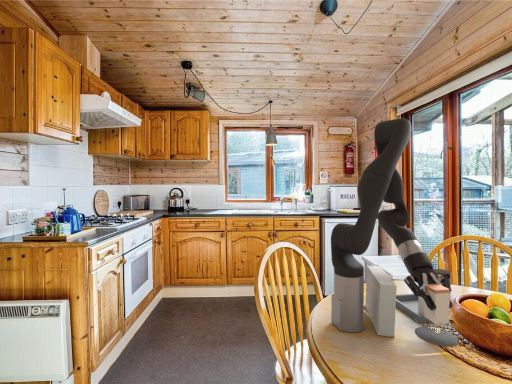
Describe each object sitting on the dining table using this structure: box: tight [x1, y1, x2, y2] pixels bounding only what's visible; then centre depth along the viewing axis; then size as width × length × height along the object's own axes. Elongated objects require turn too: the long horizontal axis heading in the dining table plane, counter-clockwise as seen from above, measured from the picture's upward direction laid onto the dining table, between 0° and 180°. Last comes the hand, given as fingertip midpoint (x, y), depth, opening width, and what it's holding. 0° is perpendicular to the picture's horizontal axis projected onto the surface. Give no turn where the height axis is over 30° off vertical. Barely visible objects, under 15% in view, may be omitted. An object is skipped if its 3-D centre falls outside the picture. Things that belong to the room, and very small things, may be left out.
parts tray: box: [396, 293, 450, 324], centre depth 102 cm, size 18×14×2 cm
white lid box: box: [418, 296, 424, 315], centre depth 97 cm, size 5×5×10 cm
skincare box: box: [364, 265, 398, 338], centre depth 95 cm, size 21×6×16 cm, turn 168°
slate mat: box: [414, 325, 459, 348], centre depth 84 cm, size 11×11×1 cm
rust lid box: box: [424, 284, 451, 325], centre depth 84 cm, size 5×5×10 cm
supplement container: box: [433, 268, 452, 296], centre depth 114 cm, size 7×7×10 cm
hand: (441, 308), depth 82 cm, fingers closed on rust lid box, 4 cm apart
